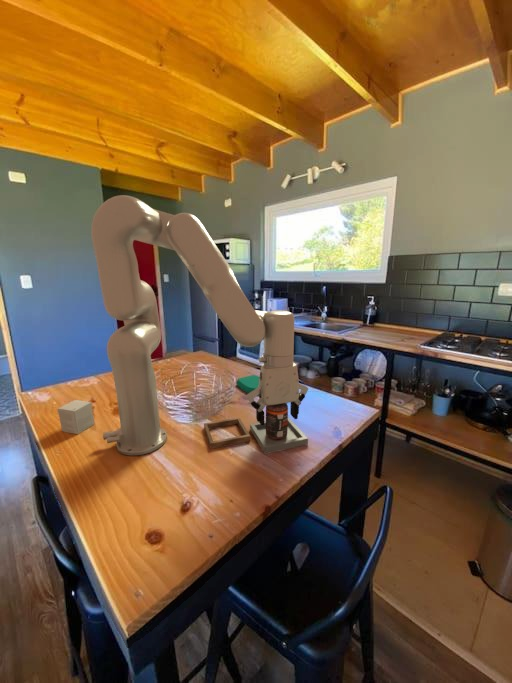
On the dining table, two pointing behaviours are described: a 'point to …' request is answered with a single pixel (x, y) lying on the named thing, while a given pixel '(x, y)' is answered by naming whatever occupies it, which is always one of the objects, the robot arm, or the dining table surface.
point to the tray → (271, 445)
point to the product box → (76, 416)
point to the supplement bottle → (277, 421)
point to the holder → (230, 440)
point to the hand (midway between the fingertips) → (277, 419)
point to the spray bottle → (248, 383)
